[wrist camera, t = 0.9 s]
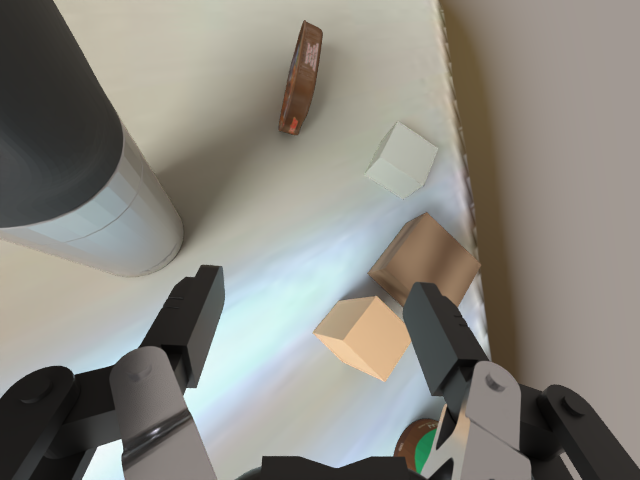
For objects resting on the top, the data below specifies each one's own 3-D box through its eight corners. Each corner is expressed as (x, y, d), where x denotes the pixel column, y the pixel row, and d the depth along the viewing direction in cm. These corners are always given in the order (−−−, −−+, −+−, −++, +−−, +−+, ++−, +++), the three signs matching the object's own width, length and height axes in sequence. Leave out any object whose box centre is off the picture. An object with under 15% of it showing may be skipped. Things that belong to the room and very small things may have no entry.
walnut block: (366, 273, 36) (385, 267, 31) (404, 224, 40) (426, 212, 35) (420, 324, 36) (447, 326, 32) (453, 270, 40) (481, 264, 35)
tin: (291, 60, 41) (303, 1, 33) (311, 67, 42) (327, 11, 34) (274, 143, 37) (284, 98, 29) (297, 150, 38) (312, 107, 30)
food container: (463, 402, 35) (545, 435, 26) (470, 459, 33) (560, 515, 24) (377, 413, 32) (434, 454, 22) (380, 476, 30) (444, 549, 21)
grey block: (363, 175, 40) (379, 157, 35) (380, 141, 42) (398, 120, 38) (402, 200, 41) (423, 185, 36) (417, 166, 43) (438, 148, 38)
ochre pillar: (312, 332, 32) (342, 340, 23) (338, 300, 34) (376, 295, 24) (342, 362, 32) (385, 382, 23) (367, 328, 34) (415, 334, 25)
